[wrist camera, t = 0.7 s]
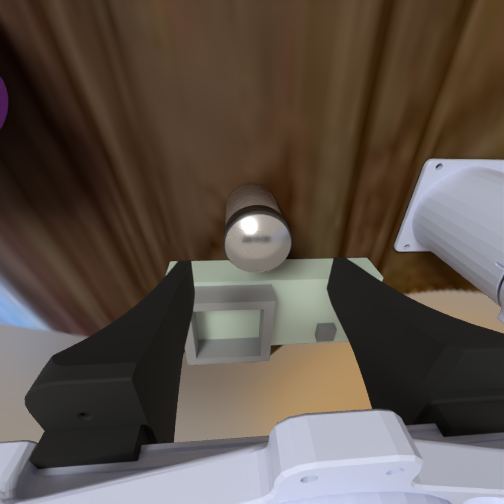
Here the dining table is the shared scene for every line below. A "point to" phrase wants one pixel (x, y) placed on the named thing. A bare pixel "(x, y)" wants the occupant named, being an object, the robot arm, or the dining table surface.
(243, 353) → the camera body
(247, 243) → the lens
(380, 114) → the dining table surface
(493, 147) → the dining table surface
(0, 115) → the toy camera
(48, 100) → the dining table surface
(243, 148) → the dining table surface
